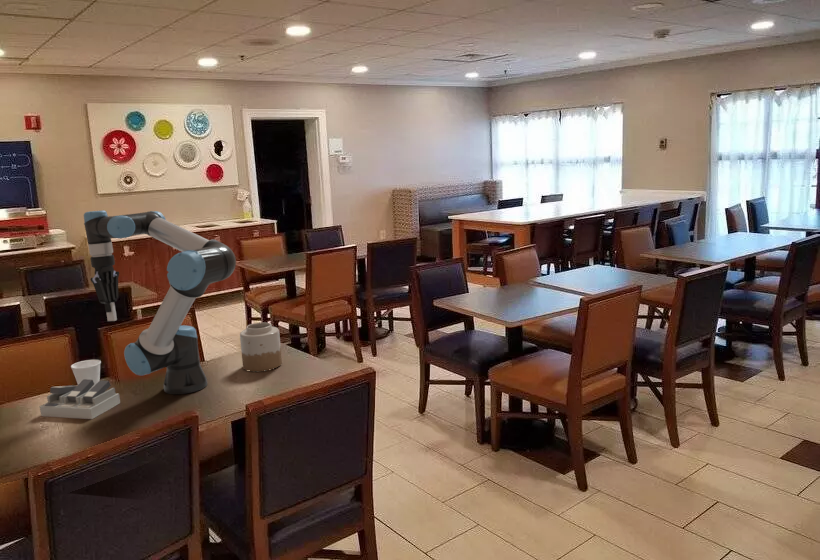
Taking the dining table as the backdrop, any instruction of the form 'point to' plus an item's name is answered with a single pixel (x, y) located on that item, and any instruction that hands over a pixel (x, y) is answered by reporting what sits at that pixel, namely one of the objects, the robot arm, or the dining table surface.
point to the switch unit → (79, 405)
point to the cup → (87, 371)
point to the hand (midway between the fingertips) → (112, 320)
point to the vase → (260, 347)
